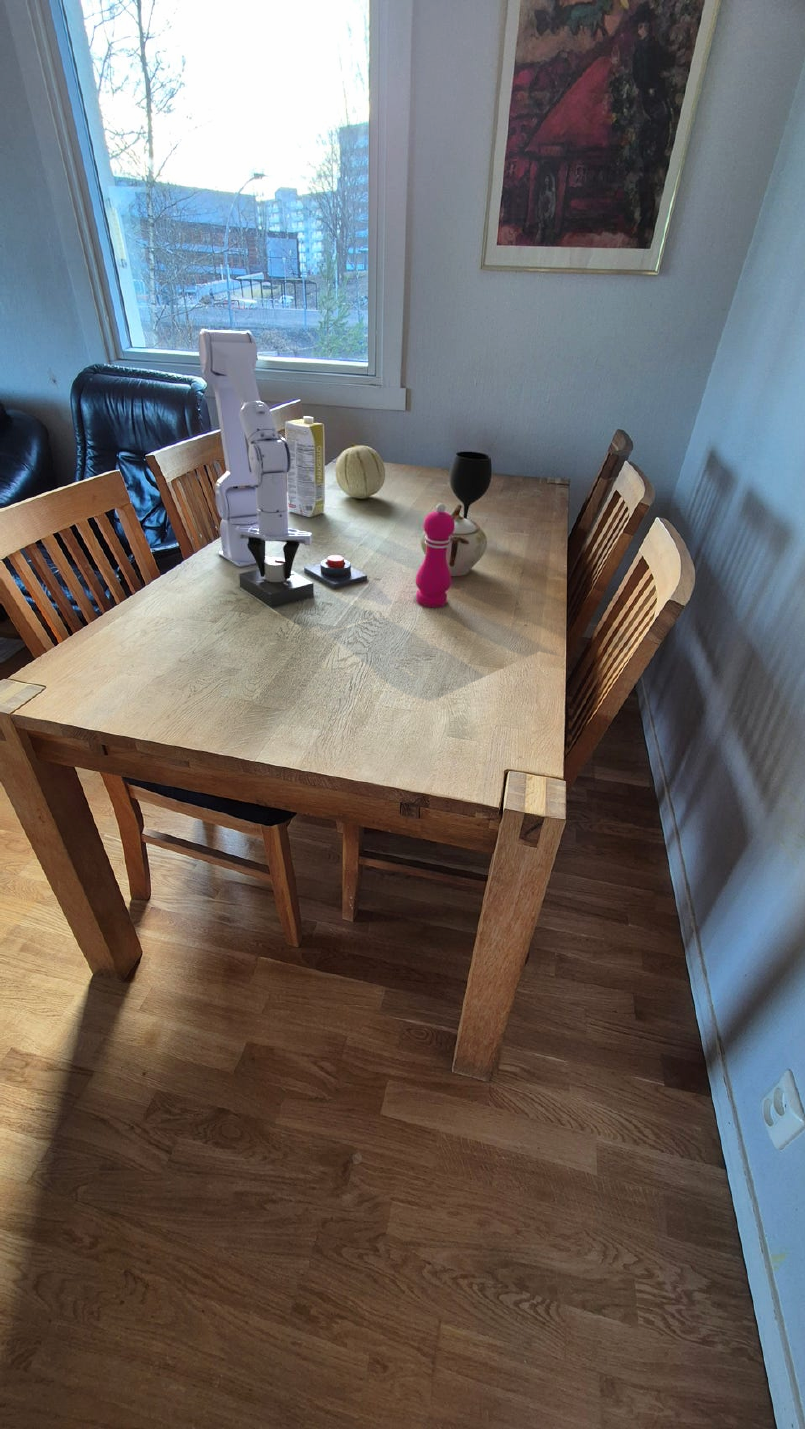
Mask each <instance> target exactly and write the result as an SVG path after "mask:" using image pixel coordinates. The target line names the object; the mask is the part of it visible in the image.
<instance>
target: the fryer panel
mask: <svg viewBox="0 0 805 1429" xmlns="http://www.w3.org/2000/svg"><path fill="white" fill-rule="evenodd" d="M238 578H239V587H240V589H242V590H243V591H245V592H246V593H248V594H250V595H251V596H252V597H253V598H255V599H257V600H258V601H260V602H261V603H262V604H264V605H266V606H267V607H269V608H270V609H273V608H277V607H281V606H284V605H288V604H291V603H294V602H298V601H302V600H306V599H310V598H313V597H315V595H314V593H315V592H314V591H315V590H314V587H315V586H314V582H312V581H311V580H309V579H308V578H306V577H304V576H302V575H301V574H299V573H297V572H295V571H294V570H291V576H290V578H289V579H286V580H285V581H282V582H270V581H267V580H266V579H265V576H264V577H261V575H260V571H259V568H258V569H253V570H248V571H245V572H241V573H238Z"/></svg>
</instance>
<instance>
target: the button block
mask: <svg viewBox="0 0 805 1429" xmlns="http://www.w3.org/2000/svg"><path fill="white" fill-rule="evenodd" d="M303 572H304V573H305V574H306V575H308V576H310V577H312V578H314V579H316V580H317V581H319V582H320V583H322V584H324V585H325V586H327V587H330V588H331V589H333V590H337V589H341V588H344V587H347V586H351V585H356V584H358V583H361V582H365V581H367V580H368V574H365V573H364V572H362V571H360V570H359V569H356V568H354V567H353V566H352V564H351V562H350V560H348V559H346V558H344V566H342V567H331V566H328V565H327V558H324V559H322V560H321V561H320V563H316V564H311V565H308V566H304V567H303Z"/></svg>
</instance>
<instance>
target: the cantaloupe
mask: <svg viewBox="0 0 805 1429" xmlns="http://www.w3.org/2000/svg"><path fill="white" fill-rule="evenodd" d="M349 446H350V447H348V448H346V449H344V450H343V451H342V452H340V454H339V455H338V456H337V460H336V463H335V468H334V471H335V478H336V482H337V484H338V486H339V488H340V490H341V491H342V492H343V493H344V494H346V496H349V497H351V498H355V499H359V500H361V499H363V500H364V499H365V500H366V499H368V498H369V497H372V496H373V495H376V494H378V493H379V491H381V489H382V487H383V486H384V483H385V481H386V468H385V463H384V462H383V460H382V457H381V455H380V454H379V453H378V451H376V450H375V449H373V448H372V447H370V446H367V445H357V444H356V443H354V442H350V443H349Z"/></svg>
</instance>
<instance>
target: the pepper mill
mask: <svg viewBox="0 0 805 1429" xmlns="http://www.w3.org/2000/svg"><path fill="white" fill-rule="evenodd" d="M446 508H447V507H446V505H445V504H444V503H438V504H437V505H436V507H435V510H434V511H431V512H430V513H428V514H427V515H426V516H425V518H424V521H423V532H424V531H425V532H426V534H427V535H426V536H425V544H426V556H425V555H424V559H423V561H422V563H421V565H420V567H419V569H418V571H417V573H416V576H415V585H416V587H417V588H418V590H417V591H416V599H415V600H416V602H417V603H418V604H419V605H421V606H424V607H427V608H440V607H443V606H445V605H446V603H447V598H448V593H447V591H449V589H450V587H451V585H452V576H450V572H449V568H448V565H447V561H446V551H447V547H449V546H450V540H451V539H450V537H449V536H450V535H451V534H452V533H453V531H454V527H455V524H454V520H453V517H452V516H451V514H450V513H449V512H447V511H446V510H447V509H446Z"/></svg>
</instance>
